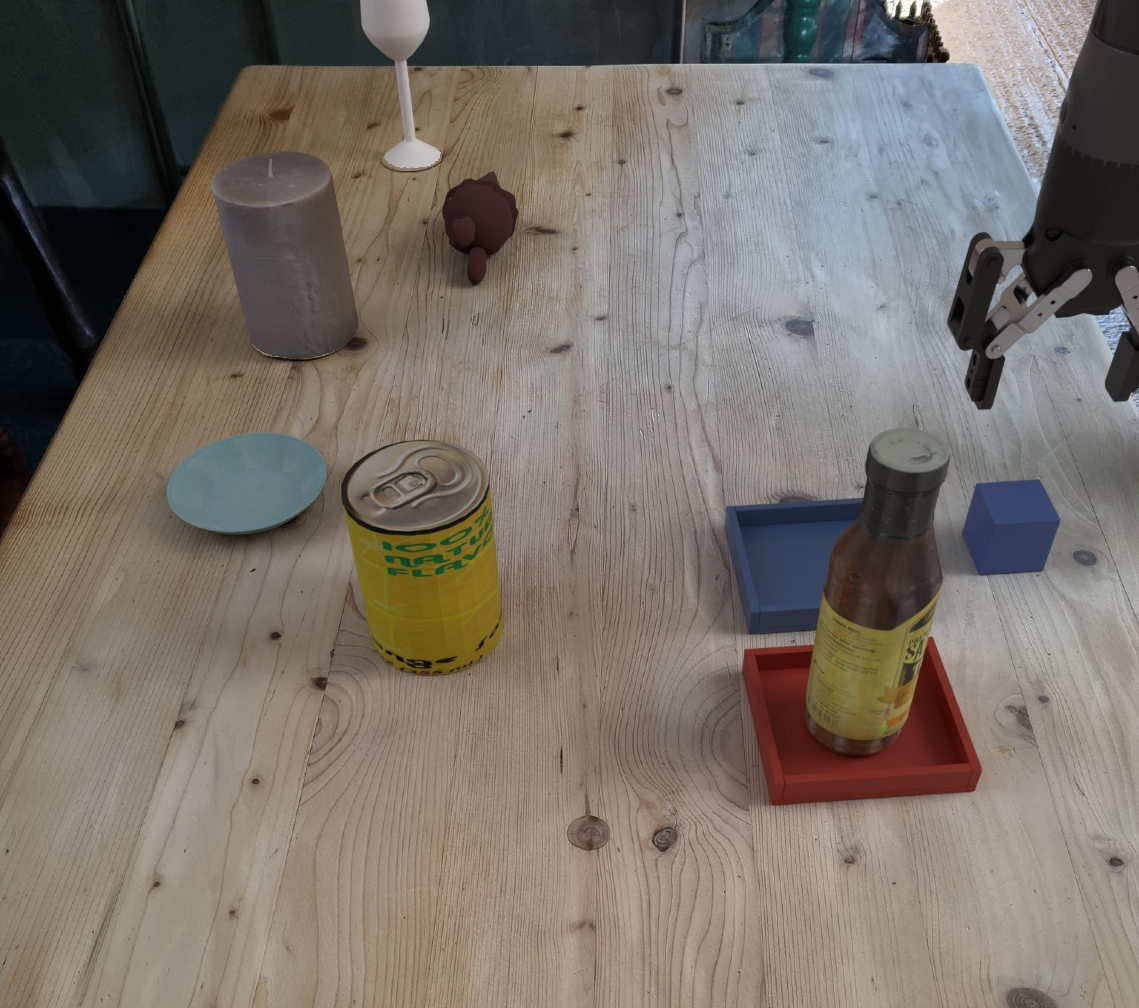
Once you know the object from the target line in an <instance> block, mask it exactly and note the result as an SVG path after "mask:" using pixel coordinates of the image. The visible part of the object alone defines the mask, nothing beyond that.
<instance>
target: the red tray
mask: <svg viewBox="0 0 1139 1008" xmlns="http://www.w3.org/2000/svg"><path fill="white" fill-rule="evenodd" d="M813 647H814V644H802V645H799V644H798V645H787V646H785V645H784V646H771V647H756V648H745V649H744V650H743V660H742V667H741V672H742V677H743V682H744V686H745V692H746V695H747V696H746V697H747V701H748V705H749V709H750V714H751V719H752V723H753V728H754V732H755V736H756V741H757V746H758V750H759V755H760V759H761V764H762V768H763V773H764V778H765V782H766V787H767V791H768V796H769V800H770V803H771V805H772V806H778V805H791V804H804V803H805V804H806V803H807V804H808V803H819V802H831V801H832V802H834V801H835V802H836V801H848V800H851V801H852V800H865V799H878V798H892V797H893V798H894V797H907V796H921V795H922V796H923V795H935V794H936V795H937V794H950V793H951V794H953V793H965V792H974V791H976V788H977V786H978V783H979V781H980V778H981V776H982V773H983V768H982V764H981V761H980V759H979V757H978V754H977V751H976V749H975V746H974V743H973V740H972V738H971V735H970V733H969V730H968V727H967V724H966V722H965V719H964V716H963V714H962V711H961V708H960V706H959V703H958V700H957V698H956V695H955V692H954V690H953V687H952V684H951V681H950V679H949V676H948V673H947V671H946V668H945V665H944V663H943V659H942V657H941V654H940V652H939V649H938V646H937V644H936V641H935V638H934V636H929V638H928V642H927V645H926V648H925V653H924V656H923V661H922V664H921V667H920V671H919V675H918V679H917V683H916V687H915V691H914V695H913V698H912V702H911V706H910V710H909V714H908V717H907V720H906V722H905V723H904V724H903V726H902V731H901V732H900V733H899V735H898V737H897V738H896V740H895V741H894V743H892V744H891V745H890V746H889V747H888V748H887V749H885V750H883V751H881V752H879V753H876V754H874V755H869V756H854V755H844V754H841V753H837V752H833V751H832V750H830V749H829V748H827V747H825V746H823V745H822V744H821V743H819V742H818V741H817V740H816V739H815V737H814V736H813V734H812V733H811V732H810V731H809V729H808V727H807V724H806V720H805V709H806V690H807V685H808V679H809V672H810V666H811V660H812V653H813Z"/></svg>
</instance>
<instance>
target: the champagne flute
mask: <svg viewBox="0 0 1139 1008" xmlns="http://www.w3.org/2000/svg"><path fill="white" fill-rule="evenodd" d="M359 2H360V5H359V6H360V19H361V20H360V21H361V28H362V30H363V32H364V35H365V36H366V37H367V39H368V40H369V41H370V43H371V44H372V45H373V46H374V47H375V48H376V49H378V50H379V52H381V53H383V54H384V56H386V57H387V58H389V59H391V60H393V61H394V66H395V74H396V75H395V76H396V82H397V89H398V91H397V92H398V98H399V105H400V114H401V122H402V131H403V138H404V139H403V140H401V141H400V142H399V143H397V144H396V145H395V146H393V147H392V148H390V149H389V150H388V151H386V152H387V153H386V152H385V153H386V154H385V153H384V154H385V156H384V158H385V160H386V161H388V163H389V164H392V165H394V167H395V166H396V167H400V168H403V167H406V168H411V167H412V168H419V167H427V166H431V164H434V163H435V161H438V159H439V158H440V154H441V152H440V151H439V150H440V149H439V148H438V149H439V150H438V149H437V147H436V148H435V146H433V145H431V144H429V143H427V142H425V141H422V140H421V139H418V138H417V137H416V129H415V123H414V122H415V121H414V114H413V105H412V97H411V89H410V88H411V87H410V80H409V79H410V78H409V72H408V63H407V60H408V59H409V58H410V57H412V56H413V55H414V53H415V52H416V51H417V49H418V48H419V47H420V45H421V44H422V43H423V42H424V39H425V38H426V36H427V33H428V31H429V28H430V23H431V22H430V21H431V20H430V19H431V18H430V13H429V8H428V3H427V0H359Z"/></svg>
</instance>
